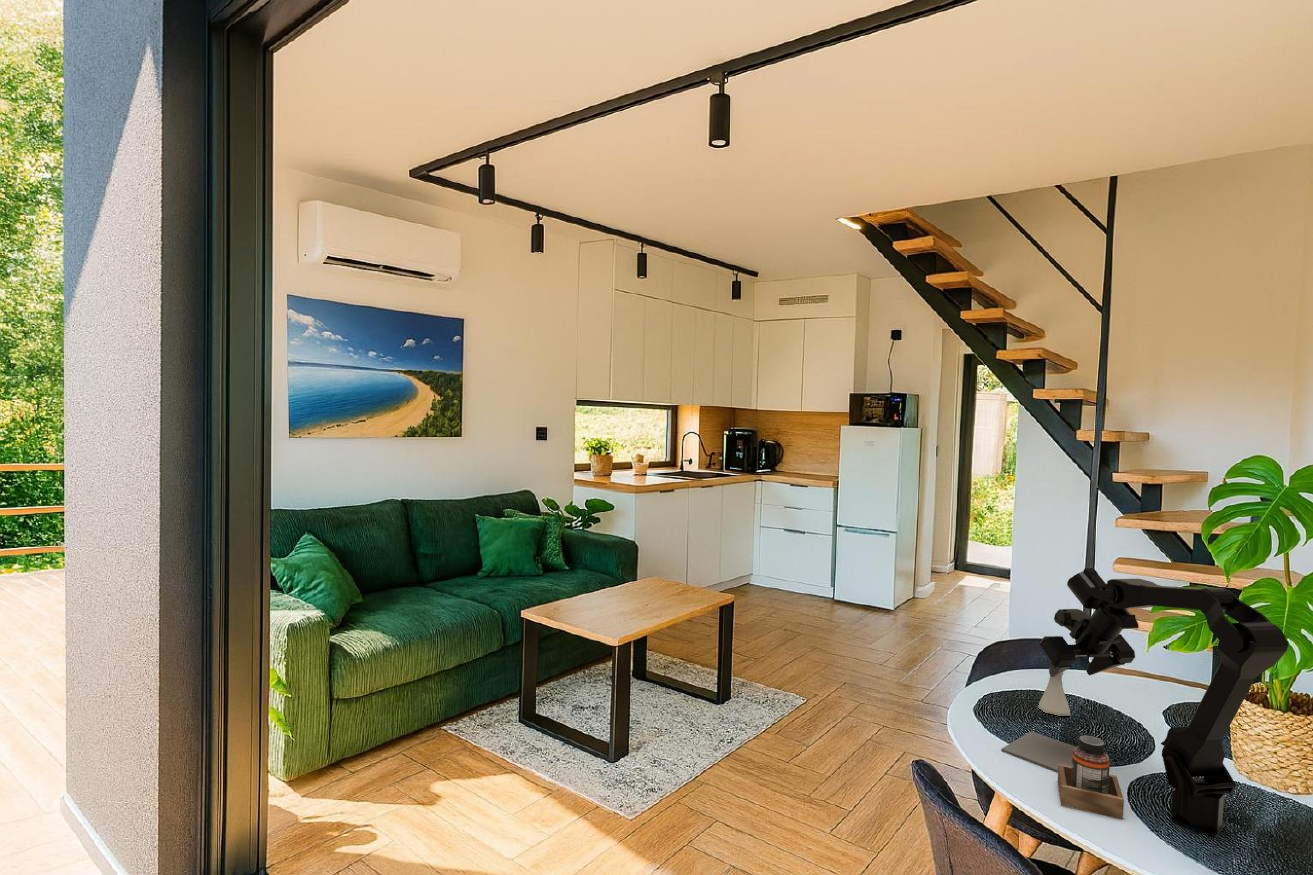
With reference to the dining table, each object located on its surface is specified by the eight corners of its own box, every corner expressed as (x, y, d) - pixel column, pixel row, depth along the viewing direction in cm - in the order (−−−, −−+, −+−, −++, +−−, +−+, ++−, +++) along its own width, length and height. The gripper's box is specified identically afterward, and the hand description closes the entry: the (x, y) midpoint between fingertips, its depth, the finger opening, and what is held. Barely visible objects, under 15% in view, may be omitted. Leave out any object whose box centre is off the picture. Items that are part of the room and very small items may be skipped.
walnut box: (1115, 793, 138) (1116, 775, 138) (1122, 819, 129) (1124, 799, 129) (1057, 781, 142) (1058, 763, 142) (1060, 805, 133) (1061, 786, 133)
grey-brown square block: (1100, 757, 152) (1100, 755, 152) (1072, 778, 143) (1073, 775, 143) (1030, 733, 163) (1031, 731, 163) (1001, 750, 154) (1001, 748, 154)
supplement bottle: (1073, 787, 140) (1076, 729, 139) (1109, 798, 136) (1113, 739, 135) (1067, 800, 135) (1070, 740, 134) (1104, 812, 131) (1108, 750, 131)
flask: (1075, 719, 171) (1078, 677, 170) (1042, 716, 172) (1044, 674, 172) (1065, 707, 178) (1067, 666, 178) (1033, 704, 179) (1035, 663, 179)
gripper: (1117, 595, 158) (1084, 642, 167) (1041, 597, 154) (1011, 645, 163) (1153, 636, 149) (1116, 684, 158) (1073, 640, 145) (1039, 688, 154)
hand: (1069, 674), depth 158 cm, fingers open, 9 cm apart
